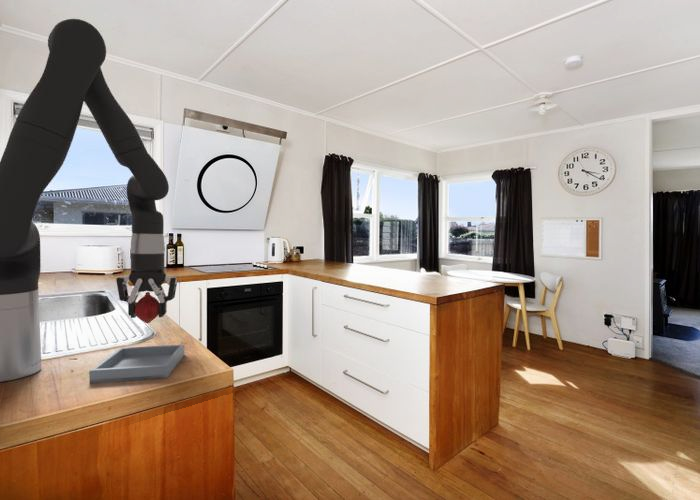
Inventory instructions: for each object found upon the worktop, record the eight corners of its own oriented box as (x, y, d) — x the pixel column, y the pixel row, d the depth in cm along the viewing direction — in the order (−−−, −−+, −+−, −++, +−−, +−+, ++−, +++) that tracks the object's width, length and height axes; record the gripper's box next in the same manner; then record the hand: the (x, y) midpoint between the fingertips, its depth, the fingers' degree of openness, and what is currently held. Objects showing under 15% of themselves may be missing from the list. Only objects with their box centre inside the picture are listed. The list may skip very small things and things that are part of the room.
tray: (89, 383, 71) (89, 370, 70) (120, 358, 84) (120, 347, 84) (166, 377, 73) (166, 365, 73) (184, 354, 87) (184, 344, 87)
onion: (164, 323, 93) (164, 292, 93) (140, 327, 89) (139, 294, 88) (155, 319, 97) (155, 289, 96) (131, 323, 92) (131, 292, 92)
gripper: (109, 251, 87) (110, 321, 87) (174, 252, 90) (174, 319, 91) (122, 250, 94) (122, 314, 95) (181, 251, 97) (181, 313, 98)
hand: (147, 316), depth 93 cm, fingers closed on onion, 6 cm apart
